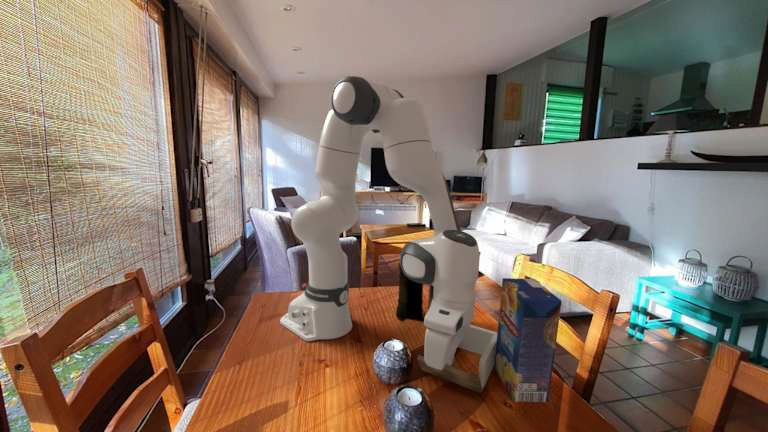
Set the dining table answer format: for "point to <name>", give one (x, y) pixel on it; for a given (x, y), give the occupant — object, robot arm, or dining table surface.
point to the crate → (481, 349)
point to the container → (409, 298)
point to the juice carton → (526, 339)
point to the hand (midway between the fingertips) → (448, 364)
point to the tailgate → (453, 375)
